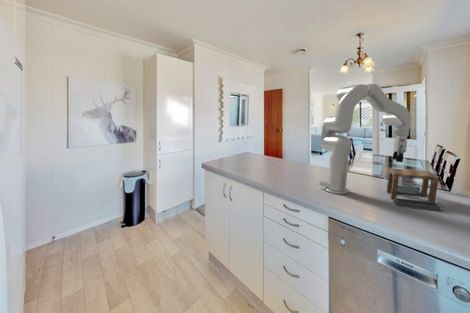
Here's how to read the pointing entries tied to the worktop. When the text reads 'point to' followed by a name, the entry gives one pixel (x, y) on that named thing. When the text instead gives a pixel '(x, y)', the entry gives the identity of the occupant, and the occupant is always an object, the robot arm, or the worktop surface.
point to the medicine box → (405, 181)
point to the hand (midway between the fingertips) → (397, 160)
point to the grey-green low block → (407, 188)
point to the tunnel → (418, 174)
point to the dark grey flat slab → (417, 204)
